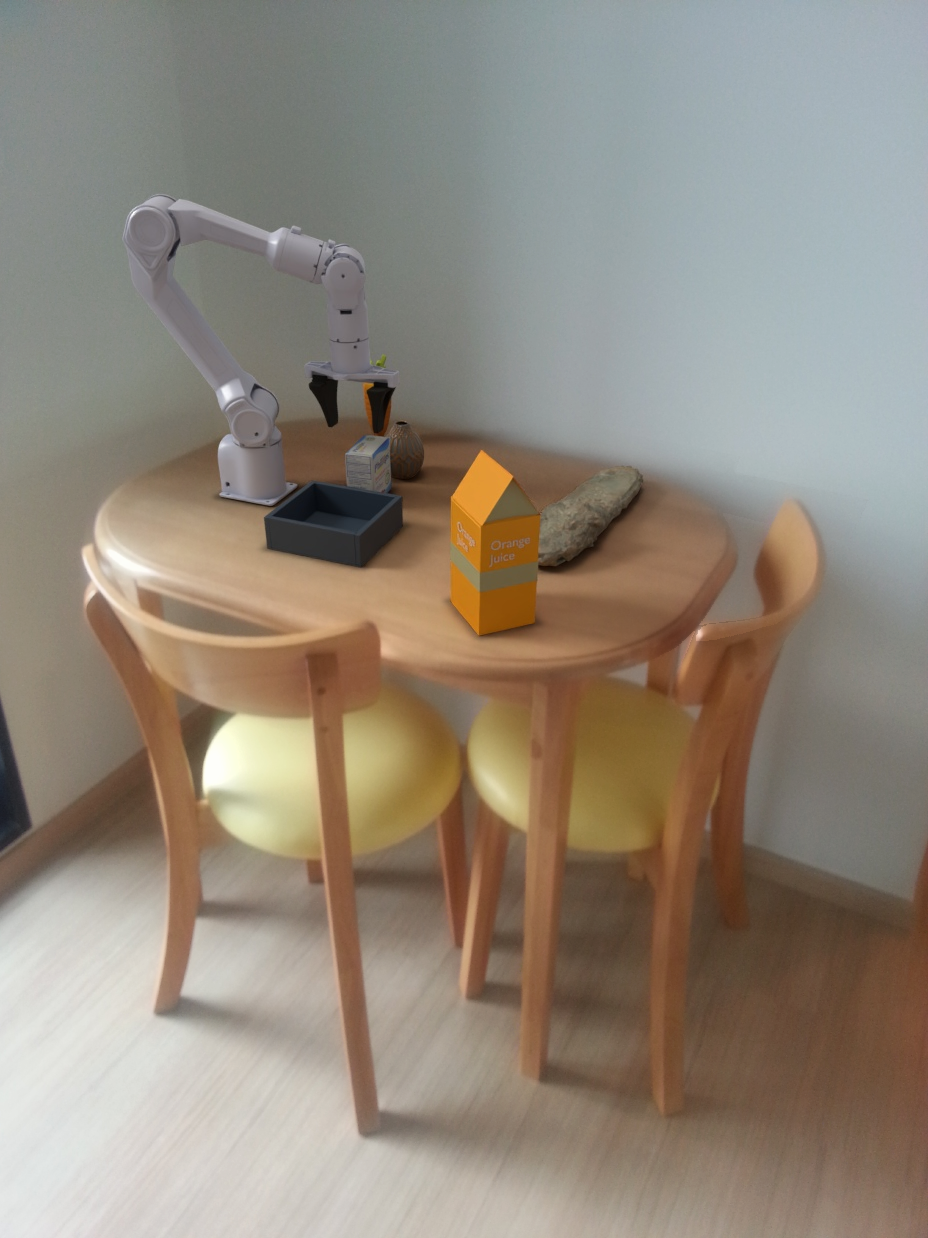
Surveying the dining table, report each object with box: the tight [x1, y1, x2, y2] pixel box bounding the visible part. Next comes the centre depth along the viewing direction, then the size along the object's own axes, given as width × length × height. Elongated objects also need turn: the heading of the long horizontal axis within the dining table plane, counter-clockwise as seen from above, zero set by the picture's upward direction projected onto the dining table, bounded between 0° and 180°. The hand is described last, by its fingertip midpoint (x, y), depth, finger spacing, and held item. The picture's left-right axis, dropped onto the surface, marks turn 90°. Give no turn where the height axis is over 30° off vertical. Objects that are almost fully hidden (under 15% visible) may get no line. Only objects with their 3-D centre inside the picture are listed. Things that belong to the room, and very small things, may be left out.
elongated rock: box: [538, 465, 644, 567], centre depth 141 cm, size 35×5×10 cm
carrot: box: [362, 354, 392, 437], centre depth 165 cm, size 5×5×15 cm
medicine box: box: [344, 434, 392, 494], centre depth 146 cm, size 8×4×9 cm, turn 165°
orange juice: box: [449, 448, 541, 636], centre depth 115 cm, size 8×9×20 cm
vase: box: [385, 419, 425, 480], centre depth 154 cm, size 7×7×9 cm
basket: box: [263, 480, 404, 568], centre depth 136 cm, size 15×14×5 cm
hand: (355, 428), depth 145 cm, fingers open, 7 cm apart
